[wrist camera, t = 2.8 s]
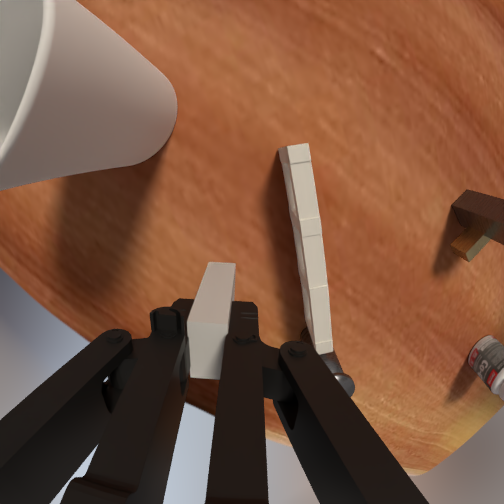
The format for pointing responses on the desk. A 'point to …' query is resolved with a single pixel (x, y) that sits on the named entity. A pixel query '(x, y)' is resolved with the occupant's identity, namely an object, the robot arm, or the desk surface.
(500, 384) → the pill bottle
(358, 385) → the desk surface
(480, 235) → the grey upright block
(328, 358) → the hinge post
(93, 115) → the cup
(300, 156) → the gate
